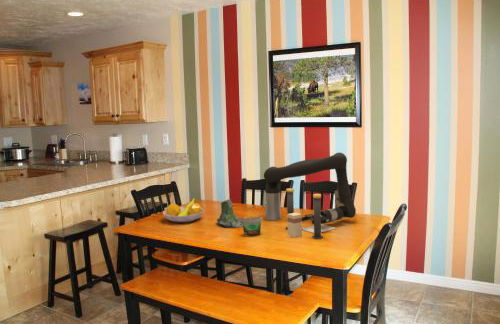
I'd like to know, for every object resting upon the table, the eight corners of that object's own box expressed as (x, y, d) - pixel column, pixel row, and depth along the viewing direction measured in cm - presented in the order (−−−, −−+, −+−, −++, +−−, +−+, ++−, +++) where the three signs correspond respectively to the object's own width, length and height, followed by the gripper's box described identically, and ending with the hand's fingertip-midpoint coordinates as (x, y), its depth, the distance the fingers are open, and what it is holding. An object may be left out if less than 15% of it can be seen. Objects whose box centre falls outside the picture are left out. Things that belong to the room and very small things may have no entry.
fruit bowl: (184, 227, 252) (183, 209, 251) (154, 221, 269) (153, 204, 267) (215, 217, 274) (214, 200, 273) (186, 212, 291) (185, 196, 289)
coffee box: (351, 214, 272) (351, 190, 270) (348, 216, 266) (348, 191, 264) (337, 213, 276) (337, 189, 274) (334, 215, 270) (334, 190, 268)
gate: (283, 228, 243) (282, 188, 240) (291, 226, 247) (290, 187, 244) (317, 240, 221) (316, 196, 218) (325, 237, 224) (325, 194, 221)
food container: (244, 237, 228) (243, 220, 227) (241, 234, 234) (240, 217, 233) (265, 235, 232) (265, 217, 230) (262, 232, 238) (261, 215, 236)
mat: (301, 229, 241) (301, 228, 240) (321, 224, 250) (321, 223, 250) (315, 234, 231) (315, 233, 231) (336, 228, 240) (336, 227, 240)
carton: (287, 235, 231) (287, 214, 229) (295, 233, 234) (295, 212, 232) (294, 237, 226) (294, 216, 225) (302, 235, 229) (301, 214, 228)
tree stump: (246, 229, 245) (237, 201, 243) (215, 236, 251) (206, 208, 249) (253, 220, 263) (245, 193, 261) (224, 226, 269) (216, 200, 267)
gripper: (319, 207, 249) (298, 212, 240) (336, 211, 237) (316, 216, 228) (319, 219, 250) (298, 224, 241) (336, 224, 238) (316, 230, 229)
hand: (307, 220), depth 235 cm, fingers open, 8 cm apart
